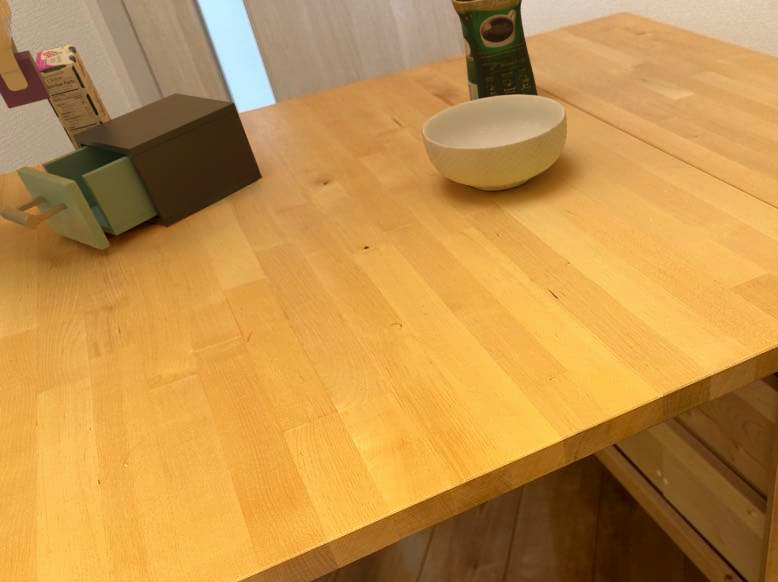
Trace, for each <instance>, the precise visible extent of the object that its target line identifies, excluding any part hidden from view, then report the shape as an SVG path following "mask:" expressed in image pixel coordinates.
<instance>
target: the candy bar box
mask: <svg viewBox="0 0 778 582" xmlns="http://www.w3.org/2000/svg"><path fill="white" fill-rule="evenodd" d="M35 63H36V65H37V67H38V69H39V71H40V73H41V75H42V77H43V78H44V80H45V82H46V84H47V86H48V88H49V93H50V98H49V99H47V101H48V103H49V105H50V107H51V108H52V110H53V112H54V114H55V116H56V118H57V119H58V121H59V123H60V124H61V127H62V128H63V130H64V132H65V133H66V135H67V137H68V138H69V141H70V143H71V144H72V146H73V148H74V151H75V150H77V149H79V147H78V145H77V143H76V141H75V139H74V137H73V135H75V134H78V133H80V132H83V131H85V130H87V129H90V128H92V127H95V126H97V125H100V124H102V123H104V122H107V121H109V120H112V118H111V116H110V114H109V112H108V110H107V108H106V106H105V104H104V103H103V99H102V98H101V96H100V94H99V92H98V90H97V87H96V86H95V85H94V82H93V80H92V78H91V76H90V74H89V72H88V70H87V68H86V66H85V64H84V62H83V60H82V59H81V57H80V54H79V53H78V50H77V48H76V46H75V44H74V43H71V44H67V45H66V44H65V45H62V46H57V47H53V48H50V49H44V50H41V51H39V52H36V58H35Z"/></svg>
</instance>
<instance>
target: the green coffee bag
mask: <svg viewBox="0 0 778 582" xmlns="http://www.w3.org/2000/svg"><path fill="white" fill-rule="evenodd" d="M522 2H523V0H451V4H452V7H453V9H454V10H455V12H456V14H457V17H458V18H459V22H460V25H461V26H460V27H461V32H462V37H463V38H462V39H463V44H464V45H463V46H464V52H465V62H466V75H467V85H468V95H469V101H472V100H477V99H482V98H487V97H494V96H503V95H536V96H538V89H537V83H536V79H535V75H534V70H533V67H532V62H531V58H530V54H529V51H528V46H527V41H526V36H525V30H524V25H523V17H522Z"/></svg>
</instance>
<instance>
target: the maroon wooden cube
mask: <svg viewBox="0 0 778 582" xmlns="http://www.w3.org/2000/svg"><path fill="white" fill-rule="evenodd" d="M18 52H19V53H15V54H14V56H15V58H16V61H17V63H18V65H19V66H20V68H21V70H22V71H23V73H24V75H25V77H26V79H27V82H28V86H27V88H25V89H21V90H17V91H12V90H10V89H9V88H8V87H7V85H6V83H5V81H4V79H3V78H2V76H1V74H0V96H1V97H2V99H3V101H4V103H5V104H6V106H7V109H13V108H17V107H21V106H25V105H30V104H33V103H37V102H41V101H45V100H48V99H49V98H50V93H49V88H48V86H47V84H46V82H45V80H44V78H43V77H42V75H41V73H40V71H39V69H38V67H37V65H36V63H35V62H36V60H35V59H34V57H33V55H32V53H31V52H30V50H29V49H27V50H23V51H18Z"/></svg>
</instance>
